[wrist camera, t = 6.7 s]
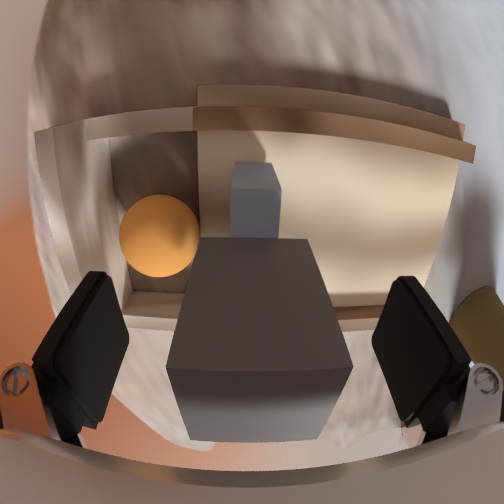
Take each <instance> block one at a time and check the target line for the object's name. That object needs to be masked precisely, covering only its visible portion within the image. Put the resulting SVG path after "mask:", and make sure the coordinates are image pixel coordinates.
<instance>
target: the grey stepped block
mask: <svg viewBox="0 0 504 504" xmlns="http://www.w3.org/2000/svg"><path fill="white" fill-rule="evenodd" d="M281 196H282V189H281V186H280V183H279V181H278V178H277V175H276V173H275V170H274V168H273V165H272V163H266V162H235V165H234V171H233V176H232V182H231V188H230V237H200V241H199V244H198V247H197V251H196V254H195V258H194V261H193V265H192V268H191V272H190V275H189V279H188V282H187V286H186V289H185V293H184V297H183V301H182V304H181V308H180V312H179V316H178V320H177V323H176V327H175V331H174V335H173V339H172V343H171V348H170V352H169V356H168V360H167V364H166V370H167V373H168V376H169V379H170V383H171V386H172V389H173V392H174V395H175V398H176V401H177V404H178V407H179V410H180V413H181V415H182V418H183V421H184V424H185V427H186V429H187V432H188V435H189V437H190V440H198V441H213V442H285V441H300V440H310V439H317V438H318V436H319V435H320V433H321V431H322V429H323V427H324V425H325V424H326V422H327V420H328V418H329V416H330V414H331V412H332V410H333V408H334V406H335V404H336V402H337V400H338V398H339V396H340V394H341V392H342V390H343V388H344V386H345V384H346V382H347V380H348V377H349V375H350V373H351V371H352V369H353V364H352V361H351V358H350V355H349V352H348V349H347V346H346V343H345V340H344V337H343V334H342V331H341V328H340V325H339V322H338V319H337V316H336V314H335V311H334V308H333V305H332V302H331V300H330V297H329V294H328V291H327V289H326V286H325V283H324V281H323V278H322V275H321V273H320V270H319V267H318V265H317V262H316V260H315V257H314V254H313V252H312V249H311V247H310V244H309V242H308V239H291V238H278V235H279V223H280V210H281Z"/></svg>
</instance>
